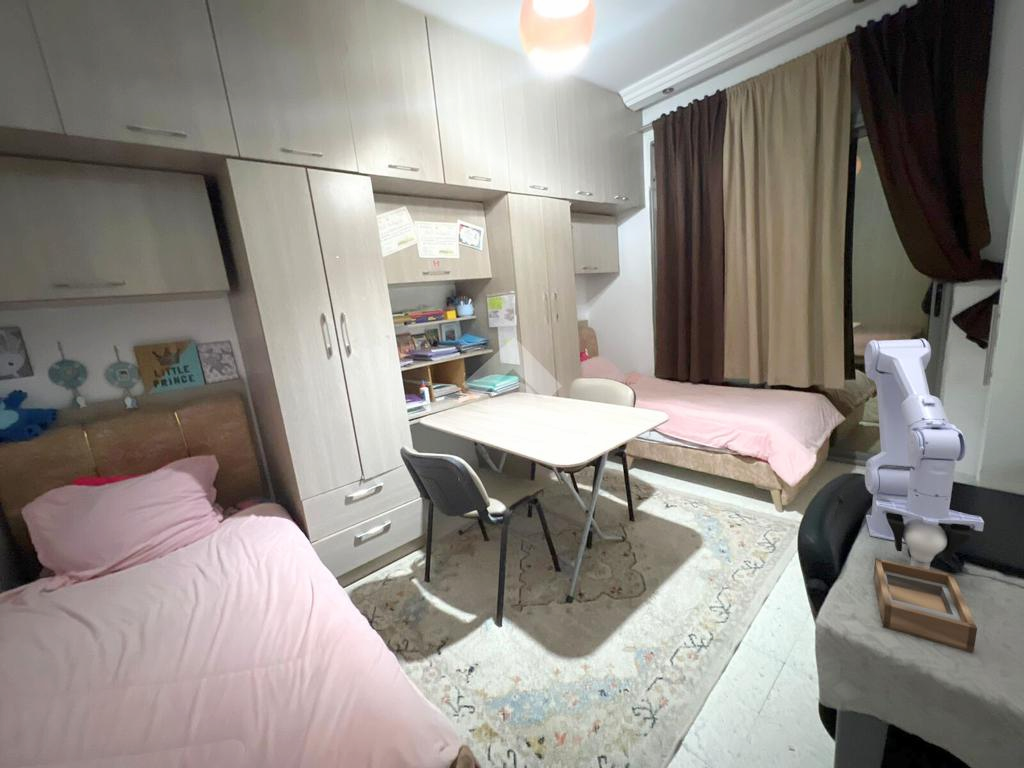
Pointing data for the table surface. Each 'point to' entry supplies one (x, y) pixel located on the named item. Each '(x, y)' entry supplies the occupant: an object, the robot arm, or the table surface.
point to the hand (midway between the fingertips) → (921, 553)
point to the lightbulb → (923, 542)
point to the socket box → (923, 604)
